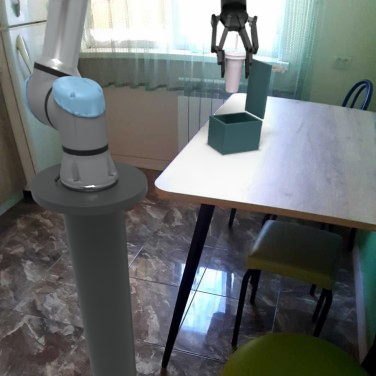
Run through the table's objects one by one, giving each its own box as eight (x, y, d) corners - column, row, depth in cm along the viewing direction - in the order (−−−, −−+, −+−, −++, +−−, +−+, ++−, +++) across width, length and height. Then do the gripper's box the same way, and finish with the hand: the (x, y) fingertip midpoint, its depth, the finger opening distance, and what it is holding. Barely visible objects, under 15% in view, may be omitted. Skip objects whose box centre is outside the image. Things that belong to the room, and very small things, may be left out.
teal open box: (222, 154, 131) (225, 125, 125) (207, 144, 138) (209, 115, 132) (258, 149, 136) (262, 120, 130) (241, 139, 143) (245, 111, 137)
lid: (270, 65, 120) (292, 64, 122) (250, 58, 126) (272, 57, 129) (261, 119, 129) (282, 117, 132) (244, 110, 136) (264, 108, 139)
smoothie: (243, 89, 127) (249, 34, 117) (241, 94, 122) (247, 37, 113) (222, 88, 127) (227, 32, 118) (220, 92, 123) (224, 35, 113)
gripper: (262, 9, 124) (264, 84, 123) (199, 7, 123) (200, 82, 122) (269, -12, 117) (271, 67, 116) (201, -15, 115) (203, 65, 114)
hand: (235, 75), depth 119 cm, fingers closed on smoothie, 6 cm apart
